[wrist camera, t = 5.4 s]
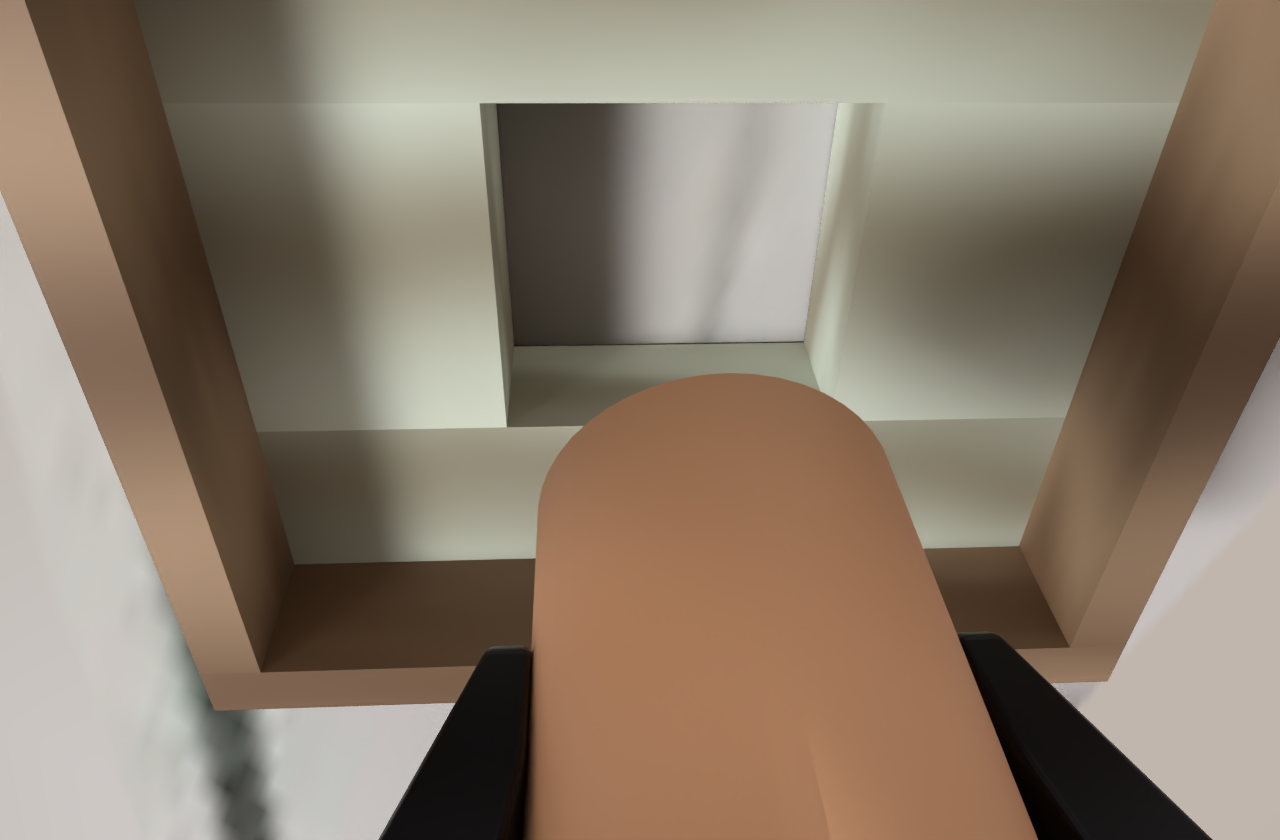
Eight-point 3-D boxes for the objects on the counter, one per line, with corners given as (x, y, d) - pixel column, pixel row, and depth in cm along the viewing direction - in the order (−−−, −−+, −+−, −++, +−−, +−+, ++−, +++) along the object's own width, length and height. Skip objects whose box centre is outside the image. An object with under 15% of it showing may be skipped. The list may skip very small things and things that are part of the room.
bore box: (1010, 496, 22) (1107, 681, 18) (282, 513, 21) (214, 710, 17) (1271, -271, 13) (1570, -244, 9) (53, -296, 12) (-192, -278, 8)
